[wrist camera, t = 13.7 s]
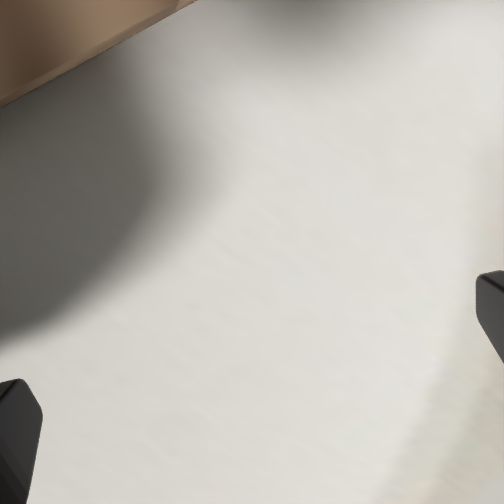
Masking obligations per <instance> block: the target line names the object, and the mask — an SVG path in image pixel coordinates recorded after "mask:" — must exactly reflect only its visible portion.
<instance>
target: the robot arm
mask: <svg viewBox="0 0 504 504" xmlns="http://www.w3.org/2000/svg"><path fill="white" fill-rule="evenodd" d="M476 315H477V318H478V321H479V323H480V325H481V326H482V328H483V330H484V331H485V333H486V335H487V336H488V338H489V340H490V341H491V343H492V345H493V347H494V348H495V350H496V352H497V353H498V355H499V357H500V358H501V360H502V362H503V363H504V271H501V270H498V271H493V272H489V273H484V274H480V275H479V276H478V277H477V279H476ZM42 420H43V414H42V410H41V407H40V405H39V403H38V402H37V400H36V398H35V397H34V395H33V393H32V391H31V390H30V388H29V386H28V384H27V383H26V382H25V381H24V380H23V379H14V380H9V381H5V382H1V383H0V504H26V502H27V499H28V495H29V490H30V486H31V481H32V475H33V470H34V464H35V459H36V454H37V448H38V443H39V437H40V432H41V426H42Z"/></svg>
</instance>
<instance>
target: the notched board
mask: <svg viewBox="0 0 504 504" xmlns="http://www.w3.org/2000/svg"><path fill="white" fill-rule="evenodd" d="M195 1H196V0H0V108H2V107H4V106H5V105H7V104H9V103H11V102H13V101H14V100H16V99H18V98H20V97H22V96H24V95H25V94H27V93H29V92H31V91H33V90H34V89H36V88H38V87H40V86H42V85H44V84H45V83H47V82H49V81H51V80H53V79H54V78H56V77H58V76H60V75H62V74H64V73H65V72H67V71H69V70H71V69H73V68H75V67H76V66H78V65H80V64H82V63H84V62H85V61H87V60H89V59H91V58H93V57H95V56H96V55H98V54H100V53H102V52H104V51H105V50H107V49H109V48H111V47H113V46H115V45H116V44H118V43H120V42H122V41H124V40H125V39H127V38H129V37H131V36H133V35H135V34H136V33H138V32H140V31H142V30H144V29H146V28H147V27H149V26H151V25H153V24H155V23H156V22H158V21H160V20H162V19H164V18H166V17H167V16H169V15H171V14H173V13H175V12H176V11H178V10H180V9H182V8H184V7H186V6H187V5H189V4H191V3H193V2H195Z"/></svg>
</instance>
